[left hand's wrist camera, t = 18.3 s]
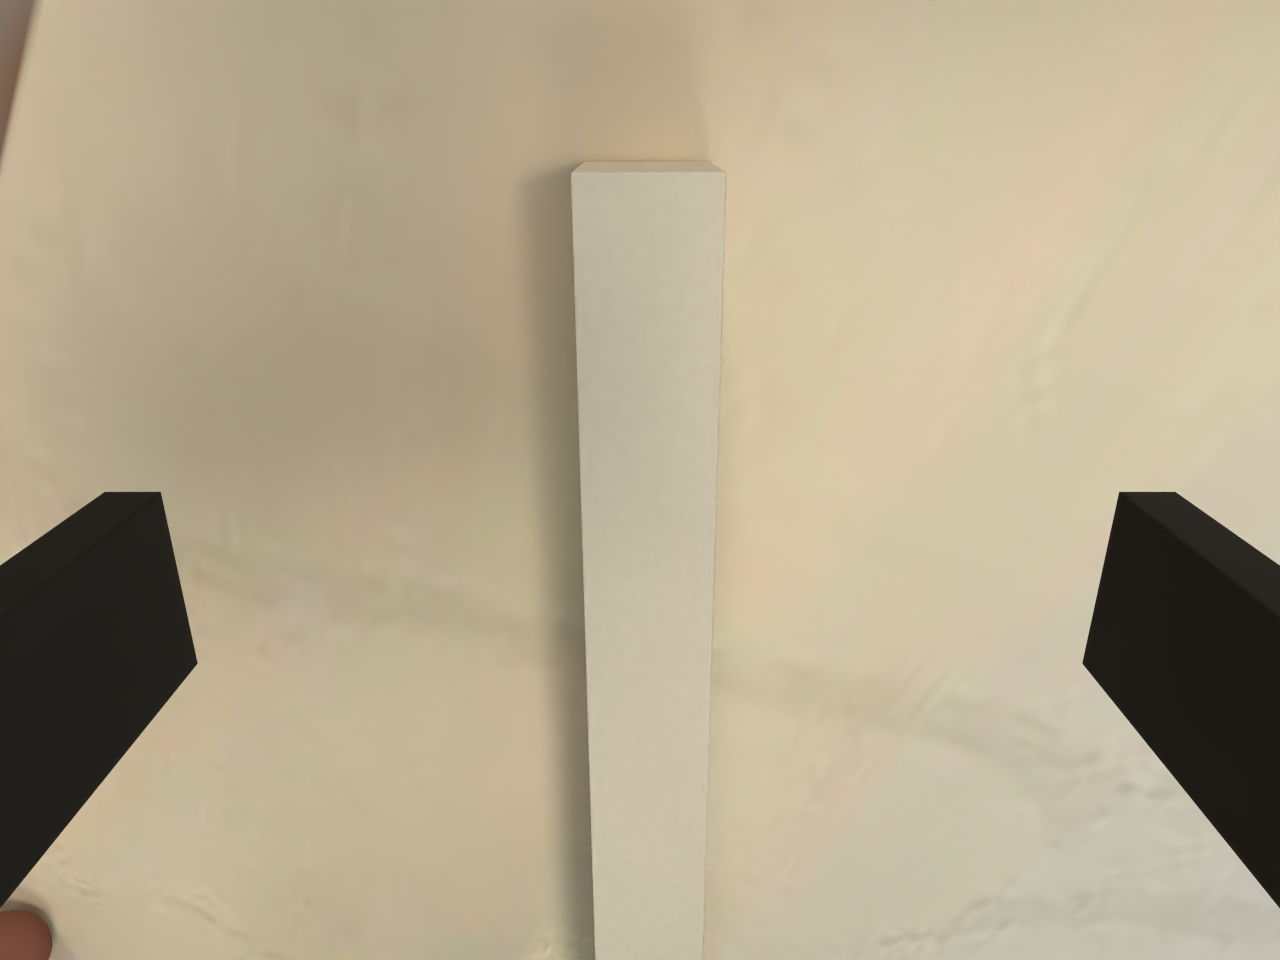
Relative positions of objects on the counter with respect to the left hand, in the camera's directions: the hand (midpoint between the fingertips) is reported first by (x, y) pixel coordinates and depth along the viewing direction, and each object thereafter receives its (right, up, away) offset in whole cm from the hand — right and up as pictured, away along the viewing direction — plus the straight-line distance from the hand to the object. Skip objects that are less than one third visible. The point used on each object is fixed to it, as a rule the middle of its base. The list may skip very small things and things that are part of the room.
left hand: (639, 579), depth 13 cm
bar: (0, -17, +42) cm, 45 cm away
